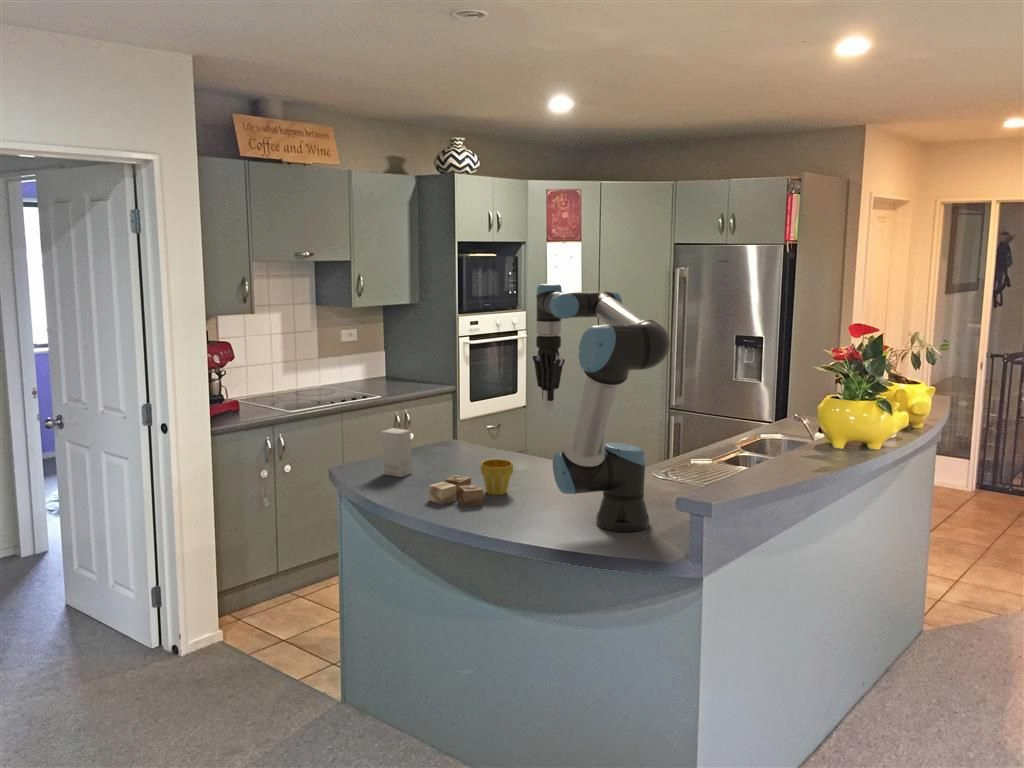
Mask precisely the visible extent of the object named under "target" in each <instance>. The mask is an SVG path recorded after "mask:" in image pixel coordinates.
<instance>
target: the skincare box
mask: <svg viewBox="0 0 1024 768" xmlns="http://www.w3.org/2000/svg"><path fill="white" fill-rule="evenodd" d="M380 432H381V450H382V452H381V453H382V469H383V471H382V472H383V475H387V476H393V477H397V478H398V477H399V478H403V477H407V476H409V475H410V474H413V465H412V445H411V444H412V441H411V439H412V438H411V430H410V429H402V428H394V427H391V428H389V429H386V430H382V431H380Z"/></svg>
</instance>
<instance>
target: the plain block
mask: <svg viewBox="0 0 1024 768" xmlns="http://www.w3.org/2000/svg"><path fill="white" fill-rule="evenodd" d="M428 488H429V491H428V494H429V496H428V499H429V501H430V502H433V503H436V504H439V505H445V503H446V504H448V503H452V501H453V502H455V501H457V496H456V485H453V484H450V483H447V482H445V481H442V482H436V483H433V484H429V485H428Z"/></svg>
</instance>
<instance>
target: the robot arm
mask: <svg viewBox="0 0 1024 768" xmlns="http://www.w3.org/2000/svg"><path fill="white" fill-rule="evenodd" d="M536 288H537V289H536V296H535V298H536V324H535V325H536V326H535V330H536V331H535V332H536V334H537V335H536V337H535V338H536V339H535V340H536V342H535V344H536V345H535V346H536V348H538V351H537V354H536V355H533V356H532V360H533V363H534V369H535V377H536V382H537V383H536V384H537V386H538V387H539V388H540V389H541V391H542V392H541V393H542V394H541V395H542V411H543V412H546V413H547V412H552V411H554V408H553V407H554V399H555V390H556V389H557V390H558V389H559V387H560V383H561V376H562V371H563V366H564V364H565V358H561V356H560V352H559V349H560V348H561V346H562V336H561V334H562V320H568V319H574V318H597V319H598V320H600V321H601V322H602V323H603V324H601V325H592V326H590V327H588V328H587V329H586V330H585V331H584V332H583V334H582V336H581V338H580V342H579V345H578V352H579V353H578V361H579V365H580V368H581V369H582V370H583V373H584V375H585V376H586V379H585V383H584V384H585V385H584V388H583V392H582V397H581V399H580V400H581V401H580V405H579V409H578V413H577V416H576V419H575V420H576V422H575V425H574V428H573V433H572V438H571V439H570V440H568V441H566V443H565V444H564V446H563V450H562V452H559V451H558V452H556V453H554V455H553V458H552V471H553V476H554V480H555V481H554V482H555V483H556V486H557V489H558V490H559V491H560V492H561V493H562V494H566V495H576V494H577V495H578V494H588V493H597V492H602V499H601V503H600V505H599V509H598V511H597V513H596V517H595V518H596V521H595V522H596V524H597V526H598V527H600V528H601V529H604V530H607V531H612V532H620V533H630V532H629V531H635V532H638V531H637V530H641V529H644V528H646V527H647V528H649V526H650V516H649V514H648V510H647V506H646V502H645V499H644V498H645V496H644V495H645V494H644V493H645V477H646V475H645V473H646V455H645V452H644V450H643V449H642V448H640V447H638V446H636V445H633V444H631V445H630V444H628V443H621V442H608V443H605V444H604V442H605V438H606V435H607V431H608V427H609V423H610V421H611V417H612V413H613V409H614V406H615V402H616V397H617V394H618V391H619V388H620V385H623V384H624V383H626V381H627V380H628V376H629V373H630V371H638V370H639V371H641V370H642V371H643V370H648V369H652V368H655V367H656V366H658V365H660V363H662V362H663V361H664V360H665V359H666V357H667V355H668V354H669V351H670V347H671V339H670V336H669V333H668V331H667V330H666V328H665V327H664V326H662V325H661V324H660V323H658V322H657V321H655V320H653V319H645V318H644V317H643V316H641V315H639V314H638V313H636V311H634V310H632V309H631V308H629V307H628V306H626V305H625V304H623V300H622V297H621V295H620V293H619V292H616V291H607V290H606V291H562V286H561V285H560V284H559V283H558V284H557V283H545V284H544V283H541V284H538V285H537V287H536ZM603 445H604V446H603ZM648 525H649V526H648ZM647 528H646V529H647ZM644 530H645V529H644ZM621 531H622V532H621ZM641 531H642V530H641Z"/></svg>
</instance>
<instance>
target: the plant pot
mask: <svg viewBox="0 0 1024 768" xmlns="http://www.w3.org/2000/svg"><path fill="white" fill-rule="evenodd" d="M480 473H481V475H482V478H483V482H484V486H485V492H486V493H487V494H488V495H491V496H503V495H505V494H507V492H508V489H509V484H510V479H511V476H512V475H513V473H514V462H512V461H510V460H508V459H507V460H506V459H502V458H501V459H500V458H498V459H497V458H496V459H493V458H492V459H487V460H483V461H481V463H480Z"/></svg>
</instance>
